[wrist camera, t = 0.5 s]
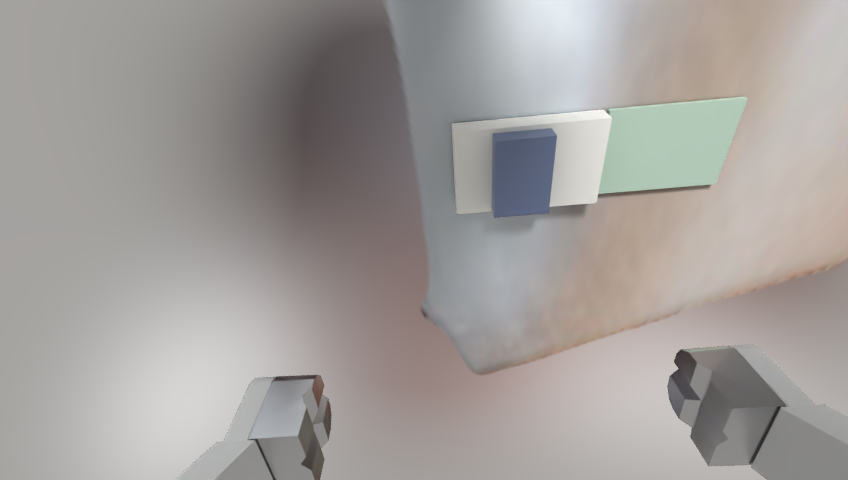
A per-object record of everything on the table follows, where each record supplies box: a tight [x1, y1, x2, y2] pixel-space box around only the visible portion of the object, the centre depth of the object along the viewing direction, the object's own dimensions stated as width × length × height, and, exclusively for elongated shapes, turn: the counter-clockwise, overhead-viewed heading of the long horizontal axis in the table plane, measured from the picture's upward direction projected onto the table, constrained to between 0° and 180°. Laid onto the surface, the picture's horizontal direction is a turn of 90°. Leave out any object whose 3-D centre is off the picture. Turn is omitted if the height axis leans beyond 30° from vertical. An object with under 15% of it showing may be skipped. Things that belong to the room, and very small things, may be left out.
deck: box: [452, 110, 612, 215], centre depth 46 cm, size 10×16×2 cm, turn 95°
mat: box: [598, 97, 748, 194], centre depth 46 cm, size 10×14×1 cm
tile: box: [492, 128, 557, 218], centre depth 44 cm, size 9×6×2 cm, turn 5°
